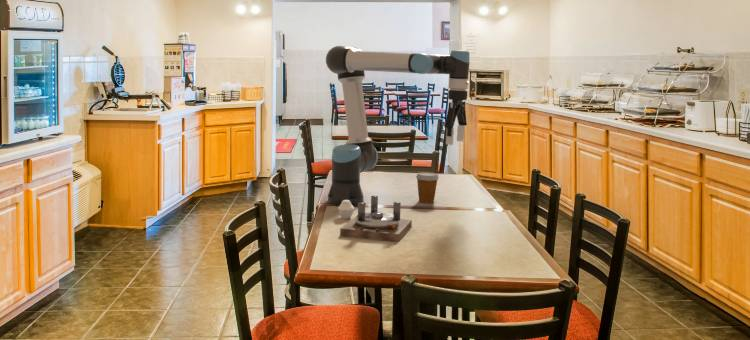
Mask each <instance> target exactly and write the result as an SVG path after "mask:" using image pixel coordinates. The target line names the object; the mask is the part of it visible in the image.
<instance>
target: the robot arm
mask: <svg viewBox="0 0 750 340" xmlns="http://www.w3.org/2000/svg"><path fill="white" fill-rule="evenodd" d="M325 64H326V66H327V68H328V69H329V71H330V72H332V73H334V74H336V75H337V80H338V81H339V82H340V83H341V86H342V94H343V101H344V102H343V103H344V110H345V118H346V128H347V136H348V139H347V140H346V141H345V144H339V145H337V146H334V147H333V149H332V154H331V185H330V187H329V191H328V192H327V193H328V194H327V203H329V204H332V205H339V206H340V205H341V203H342V201H343V200H349V201H350V202H351V204H352V206H355V205H358V203H359V202H364V200H365V199H364V194H363V191H362V187H361V183H360V181H361V173H366V172H369V171H371V170H372V169H373V168H375V166H376V165H377V163H378V160H379V154H378V151H377V149H376V147H375V146H374V143H373V139H372V138H370V137H369V132H368V124H367V114H366V107H365V98H364V97H365V96H364V89H363V80H364V79H365V77H366V76H365V75H366V74H365V71H366V72H385V73H386V72H387V73H388V72H389V73H406V74H407V73H408V74H409V73H410V74H411V73H412V74H419V75H426V74H428V75H432V74H433V75H436V74H437V75H439V74H440V75H449V77H448V89H449V90H448V93H447V94H448V95H447V99H448V100H451V102H448V109H447V113H446V118H445V123H444V125H443V126H444V128H445V129H446V135H445V145H449V146H453V145H454V135H455V133H454V132H455V129H454V125H455V123H456V119H457V123H458V125H457V129H456V132H457V133H456V142H464V137H465V126H467V125H468V123H467V113H466V112H467V111H466V101H467V100H468V91H467V90H468V87H469V86H468V85H469V84H470V82H469V71H470V52H469V50H464V49H463V50H462V49H459V50H458V49H454V50H453V49H452V50H451V51H450V54H434V53H431V54H430V53H424V52H420V53H416V52H415V53H412V52H385V51H363V50H361V49H360V48H358V47H356V46H348V45H347V46H346V45H345V46H343V45H336V46H334V47H332V48H330V49H329V50H328V52H327V53H326V55H325Z"/></svg>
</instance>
